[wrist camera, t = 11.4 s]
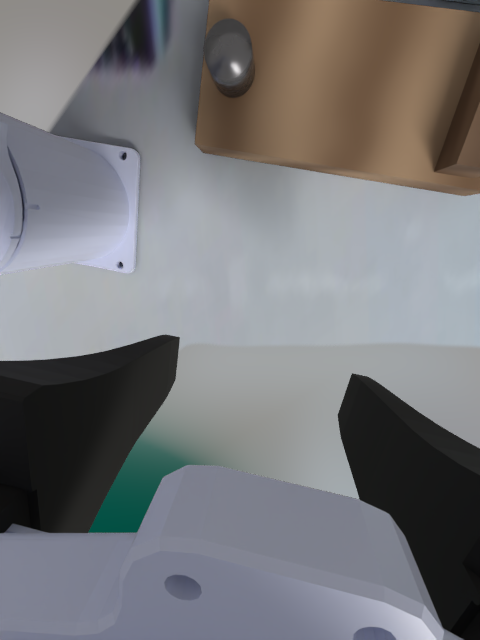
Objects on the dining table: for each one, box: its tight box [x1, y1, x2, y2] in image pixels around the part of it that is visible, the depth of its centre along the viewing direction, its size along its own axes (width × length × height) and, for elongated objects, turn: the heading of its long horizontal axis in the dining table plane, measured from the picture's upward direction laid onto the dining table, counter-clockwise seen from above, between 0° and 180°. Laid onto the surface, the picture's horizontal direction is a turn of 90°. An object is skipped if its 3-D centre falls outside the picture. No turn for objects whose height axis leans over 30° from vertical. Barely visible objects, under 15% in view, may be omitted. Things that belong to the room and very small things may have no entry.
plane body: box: [195, 0, 480, 196], centre depth 14 cm, size 16×7×4 cm, turn 80°
